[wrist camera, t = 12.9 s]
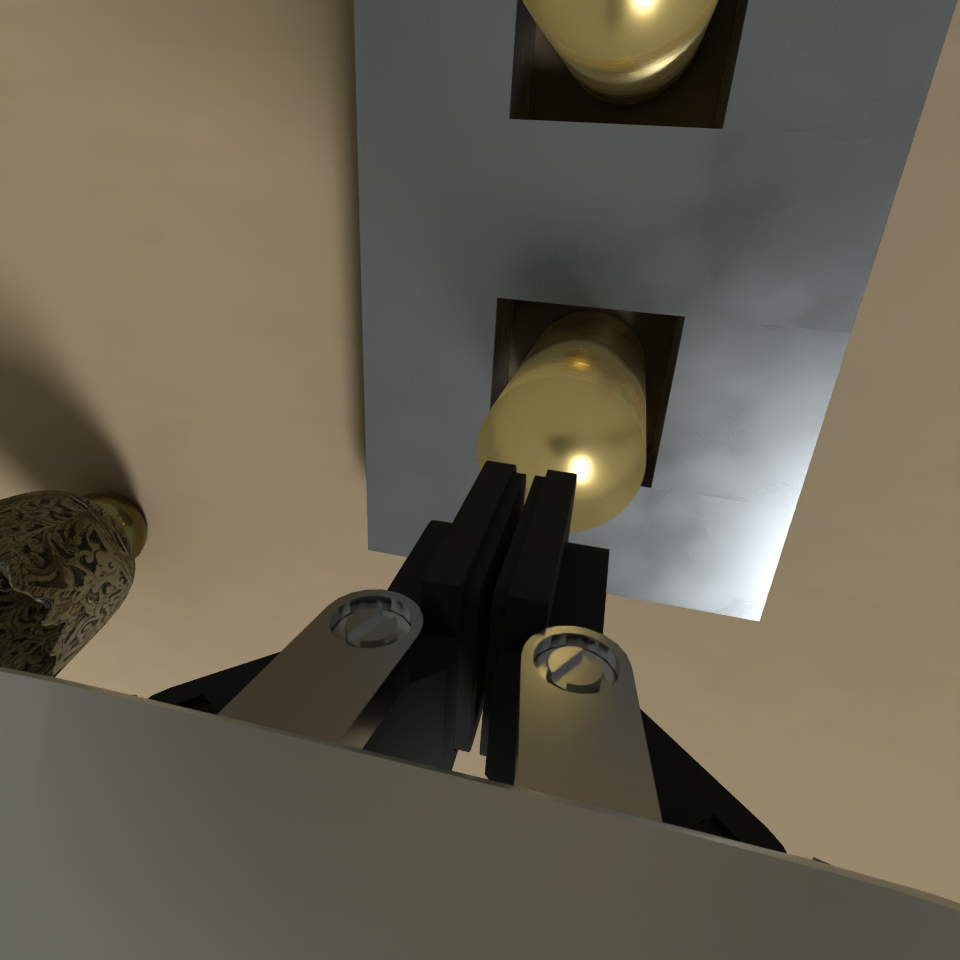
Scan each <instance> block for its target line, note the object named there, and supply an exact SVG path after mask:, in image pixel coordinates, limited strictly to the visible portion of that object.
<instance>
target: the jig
mask: <svg viewBox="0 0 960 960" xmlns="http://www.w3.org/2000/svg"><path fill="white" fill-rule="evenodd" d="M353 1H354V38H355V75H356V112H357V149H358V186H359V223H360V260H361V297H362V334H363V371H364V408H365V445H366V482H367V518H368V550H372V551H377V552H383V553H388V554H394V555H399V556H405V557H408V556H409V554H410V553H411V551H412V549H413V548H414V546H415V544H416V543H417V541H418V540H419V538H420V536H421V535H422V533H423V532H424V530H425V528H426V527H427V525H428V524H429V522H430V521H431V520H438V521H444V522H450V523H452V522H453V520H454V519H455V517H456V515H457V513H458V511H459V510H460V508H461V506H462V504H463V502H464V500H465V499H466V497H467V495H468V493H469V491H470V490H471V488H472V486H473V484H474V482H475V480H476V479H477V477H478V475H479V473H480V469H479V465H478V458H477V445H478V437H479V433H480V430H481V426H482V424H483V422H484V420H485V418H486V416H487V414H488V413H489V411H490V409H491V408H492V406H493V405H494V403H495V402H496V400H497V399H498V398H499V396H500V395H501V393H502V392H503V390H504V389H505V387H506V386H507V384H508V373H509V360H510V347H511V335H512V322H513V309H514V299H515V300H525V301H535V302H545V303H555V304H565V305H575V306H585V307H595V308H605V309H615V310H624V311H634V312H644V313H654V314H664V315H674V316H677V317H676V322H675V328H674V333H673V338H672V343H671V348H670V354H669V359H668V364H667V369H666V374H665V379H664V385H663V390H662V395H661V400H660V405H659V411H658V416H657V421H656V426H655V431H654V436H653V442H652V447H651V452H646V467H645V473H644V477H643V481H642V483H641V486H640V488H639V490H638V492H637V494H636V495H635V497H634V498H633V500H632V501H631V502H630V504H629V505H628V506H627V507H626V508H625V509H624V510H623V511H622V512H621V513H620V514H618V515H617V516H616V517H614V518H613V519H611V520H610V521H608V522H606V523H604V524H602V525H600V526H597V527H594V528H592V529H587V530H583V531H577V532H570V533H569V540H568V542H570V543H576V544H582V545H588V546H594V547H600V548H606V549H609V550H610V551H609V564H608V576H607V589H606V593H607V594H613V595H618V596H624V597H629V598H635V599H640V600H646V601H651V602H656V603H662V604H667V605H673V606H678V607H684V608H689V609H695V610H700V611H706V612H711V613H717V614H722V615H728V616H733V617H739V618H744V619H750V620H755V621H759V620H760V617H761V614H762V611H763V608H764V605H765V602H766V599H767V595H768V592H769V589H770V586H771V583H772V580H773V577H774V573H775V570H776V567H777V564H778V561H779V558H780V555H781V551H782V548H783V545H784V542H785V539H786V536H787V533H788V530H789V526H790V523H791V520H792V517H793V514H794V511H795V508H796V504H797V501H798V498H799V495H800V492H801V489H802V486H803V483H804V479H805V476H806V473H807V470H808V467H809V464H810V461H811V457H812V454H813V451H814V448H815V445H816V442H817V439H818V435H819V432H820V429H821V426H822V423H823V420H824V417H825V414H826V410H827V407H828V404H829V401H830V398H831V395H832V392H833V388H834V385H835V382H836V379H837V376H838V373H839V370H840V367H841V363H842V360H843V357H844V354H845V351H846V348H847V345H848V341H849V338H850V335H851V332H852V329H853V326H854V323H855V319H856V316H857V313H858V310H859V307H860V304H861V301H862V298H863V294H864V291H865V288H866V285H867V282H868V279H869V276H870V272H871V269H872V266H873V263H874V260H875V257H876V254H877V251H878V247H879V244H880V241H881V238H882V235H883V232H884V229H885V225H886V222H887V219H888V216H889V213H890V210H891V207H892V203H893V200H894V197H895V194H896V191H897V188H898V185H899V182H900V178H901V175H902V172H903V169H904V166H905V163H906V160H907V156H908V153H909V150H910V147H911V144H912V141H913V138H914V135H915V131H916V128H917V125H918V122H919V119H920V116H921V113H922V109H923V106H924V103H925V100H926V97H927V94H928V91H929V87H930V84H931V81H932V78H933V75H934V72H935V69H936V66H937V62H938V59H939V56H940V53H941V50H942V47H943V44H944V40H945V37H946V34H947V31H948V28H949V25H950V22H951V19H952V15H953V12H954V9H955V6H956V3H957V0H738V1H737V7H736V12H735V17H734V22H733V27H732V33H731V38H730V43H729V48H728V53H727V58H726V64H725V69H724V74H723V79H722V84H721V89H720V95H719V100H718V105H717V110H716V115H715V121H714V126H713V129H712V128H691V127H670V126H648V125H627V124H606V123H584V122H563V121H542V120H528V118H529V106H530V93H531V80H532V67H533V55H534V42H535V29H536V22H535V20H534V19H533V17H532V16H531V14H530V12H529V11H528V9H527V8H526V6H525V4H524V3H523V0H353Z"/></svg>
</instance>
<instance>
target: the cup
mask: <svg viewBox="0 0 960 960" xmlns="http://www.w3.org/2000/svg"><path fill="white" fill-rule="evenodd" d="M146 540H147V528H146V524H145V521H144V519H143V517H142V515H141V514H140V512H139V511H138V510H137V508H136V507H135V506H134V505H133V504H132V503H130V502H129V501H128V500H126V499H125V498H123V497H121V496H119V495H117V494H114V493H110V492H95V493H89V494H85V495H83V496H79V495H76V494H73V493H69V492H62V491H35V492H29V493H24V494H20V495H16V496H12V497H9V498H5V499H2V500H0V667H3V668H9V669H14V670H19V671H24V672H29V673H35V674H40V675H45V676H50V677H56V675H57V674H58V673H59V672H60V671H61V670H62V669H63V668H64V667H65V666H66V665H67V664H68V663H69V662H70V661H71V660H72V659H73V658H74V657H75V656H76V655H77V654H78V653H79V651H80V650H81V649H82V648H83V647H84V646H85V645H86V644H87V643H88V642H89V641H90V640H91V639H92V638H93V637H94V636H95V635H96V634H97V633H98V632H99V630H100V629H101V628H102V627H103V626H104V625H105V624H106V623H107V622H108V621H109V619H110V618H111V617H112V616H113V615H114V613H115V612H116V611H117V610H118V609H119V607H120V606H121V604H122V603H123V601H124V600H125V598H126V597H127V595H128V593H129V590H130V588H131V586H132V583H133V579H134V575H135V558H136V557H138V555H139V554H140V553H141V551H142V550H143V548H144V545H145V543H146Z"/></svg>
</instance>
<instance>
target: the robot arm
mask: <svg viewBox="0 0 960 960" xmlns="http://www.w3.org/2000/svg"><path fill="white" fill-rule="evenodd" d="M576 482H577V474H576V473H569V472H562V471H555V470H549V469H548V470H547V473H546V476H545V477H543V476H536V475H535V477H534V479H533V482H532V485H531V488H530V490H529V493H528V496H527V499H526V502H525V504H524V500H525V489H526V474H523V473H517V467H516V465H515V464H508V463H501V462H494V461H486V462H485V464H484V466H483V468H482V470H481V471H480V473H479V475H478V477H477V479H476V480H475V482H474V484H473V486H472V488H471V490H470V491H469V493H468V495H467V497H466V499H465V500H464V502H463V504H462V506H461V508H460V510H459V511H458V513H457V515H456V517H455V519H454V520H453V522H452V523H450V522H444V521H438V520H431V521H430V522H429V524H428V525H427V527H426V528H425V530H424V532H423V533H422V535H421V536H420V538H419V540H418V541H417V543H416V544H415V546H414V548H413V549H412V551H411V553H410V554H409V556H408V557H407V559H406V561H405V562H404V564H403V566H402V567H401V569H400V570H399V572H398V574H397V575H396V577H395V578H394V580H393V582H392V583H391V585H390V587H389V588H388V590H363V591H358V592H353V593H350V594H347V595H345V596H343V597H340V598H338V599H337V600H335V601H334V602H332V603H331V604H330V605H328V606H327V607H326V608H325V609H324V610H323V611H322V612H321V613H320V614H319V615H318V616H317V617H316V618H315V619H314V620H313V621H312V622H311V623H310V624H309V625H308V626H307V627H306V628H305V629H304V630H303V631H302V632H301V633H300V634H299V635H298V636H297V637H296V638H294V639H293V640H292V641H291V642H290V643H289V644H288V645H287V646H286V647H285V648H284V649H283V650H282V651H281V652H278V653H275V654H272V655H269V656H266V657H263V658H260V659H257V660H254V661H251V662H248V663H245V664H242V665H239V666H236V667H232V668H229V669H226V670H223V671H220V672H217V673H214V674H211V675H208V676H205V677H202V678H199V679H196V680H193V681H190V682H186V683H183V684H180V685H177V686H174V687H171V688H169V689H166V690H164V691H162V692H159V693H157V694H155V695H152V696H151V697H149V698H148V699H146V698H142V697H138V696H137V695H129V694H125V693H121V692H116V691H112V690H107V689H103V688H99V687H94V686H90V685H85V684H81V683H77V682H72V681H68V680H64V679H59V678H55V677H50V676H45V675H40V674H35V673H29V672H24V671H19V670H14V669H9V668H3V667H0V960H960V904H959V903H957V902H954V901H951V900H948V899H945V898H943V897H940V896H937V895H934V894H931V893H928V892H924V891H921V890H917V889H914V888H910V887H907V886H903V885H900V884H896V883H892V882H889V881H885V880H882V879H878V878H875V877H871V876H868V875H864V874H860V873H857V872H853V871H850V870H846V869H843V868H839V867H836V866H833V865H830V864H828V863H826V862H823V861H821V860H819V859H817V858H814V857H813V858H812V860H811V859H807V858H803V857H799V856H795V855H791V854H787V852H786V851H785V849H784V847H783V845H782V844H781V843H780V842H779V841H778V840H777V839H776V837H775V836H774V835H773V834H772V833H771V832H770V830H769V829H768V828H767V827H766V826H765V825H764V824H763V823H762V822H760V821H759V820H758V819H757V818H756V817H755V816H754V815H753V814H752V813H751V812H750V811H749V810H748V809H747V808H746V807H744V806H743V805H742V804H741V803H740V802H739V801H738V800H737V799H736V798H735V797H734V796H733V795H732V794H731V793H730V792H728V791H727V790H726V789H725V788H724V787H723V786H722V785H721V784H720V783H719V782H718V781H717V780H716V779H715V778H714V777H712V776H711V775H710V774H709V773H708V772H707V771H706V770H705V769H704V768H703V767H702V766H701V765H700V764H699V763H698V762H696V761H695V760H694V759H693V758H692V757H691V756H690V755H689V754H688V753H687V752H686V751H685V750H684V749H683V748H682V747H680V746H679V745H678V744H677V743H676V742H675V741H674V740H673V739H672V738H671V737H670V736H669V735H668V734H667V733H666V732H664V731H663V730H662V729H661V728H660V727H659V726H658V725H657V724H656V723H655V722H654V721H653V720H652V719H651V718H650V717H648V716H647V715H646V714H645V713H644V712H643V711H642V710H641V709H640V706H639V701H638V696H637V691H636V686H635V681H634V676H633V671H632V666H631V664H630V661H629V659H628V657H627V655H626V653H625V652H624V651H623V650H622V649H621V648H620V647H619V645H618V644H617V643H615V642H614V641H612V640H611V639H609V638H608V637H606V636H605V635H603V625H604V613H605V601H606V589H607V576H608V564H609V551H610V550H609V549H606V548H600V547H594V546H588V545H582V544H576V543H570V542H568V540H569V533H570V525H571V518H572V511H573V504H574V497H575V489H576ZM482 711H483V716H482V729H481V741H480V755H483V756H486V767H485V775H486V776H487V778H488V779H489V780H488V779H484V778H480V777H475V776H471V775H467V774H463V773H459V772H455V771H452V768H453V765H454V761H455V758H456V755H457V752H458V750H462V751H466V752H470V750H471V747H472V744H473V741H474V738H475V734H476V731H477V728H478V724H479V721H480V718H481V714H482Z"/></svg>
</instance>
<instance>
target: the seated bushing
mask: <svg viewBox="0 0 960 960" xmlns="http://www.w3.org/2000/svg"><path fill="white" fill-rule="evenodd" d="M523 3H524V4H525V6H526V8H527V9H528V11H529V12H530V14H531V16H532V17H533V19H534V20H535V22H536V23H537V25H538V26H539V27H540V29H541V30H542V32H543V33H544V35H545V36H546V38H547V39H548V41H549V42H550V43H551V45H552V46H553V48H554V49H555V51H556V52H557V54H558V55H559V57H560V58H561V60H562V61H563V62H564V64H565V65H566V67H567V68H568V70H569V71H570V73H571V74H572V76H573V77H574V79H575V80H576V81H577V82H578V83H579V85H580V86H581V87H582V88H583V89H584V90H585V91H587V92H588V93H589V94H591V95H592V96H594V97H595V98H597V99H600V100H602V101H604V102H608V103H612V104H620V105H625V104H635V103H640V102H643V101H646V100H649V99H651V98H653V97H655V96H657V95H659V94H660V93H662V92H663V91H665V90H666V89H668V88H669V87H670V86H671V85H672V84H674V83H675V82H676V81H677V80H678V79H679V77H680V76H681V75H682V74H683V73H684V72H685V70H686V69H687V68H688V66H689V65H690V63H691V62H692V60H693V58H694V57H695V55H696V53H697V50H698V48H699V46H700V44H701V41H702V39H703V37H704V34H705V32H706V29H707V27H708V25H709V22H710V20H711V17H712V15H713V13H714V10H715V8H716V5H717V3H718V0H523Z"/></svg>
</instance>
